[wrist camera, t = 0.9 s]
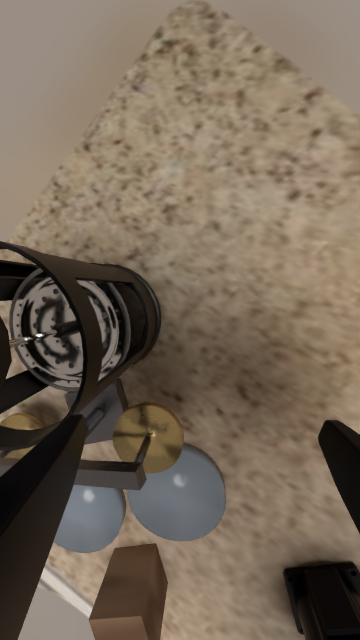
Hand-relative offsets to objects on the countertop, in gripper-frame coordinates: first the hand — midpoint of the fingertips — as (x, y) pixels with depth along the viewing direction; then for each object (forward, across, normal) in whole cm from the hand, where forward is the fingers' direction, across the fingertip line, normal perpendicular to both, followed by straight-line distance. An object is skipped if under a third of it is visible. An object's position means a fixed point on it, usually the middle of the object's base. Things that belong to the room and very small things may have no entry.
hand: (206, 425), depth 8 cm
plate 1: (+9, +9, +21) cm, 24 cm away
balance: (+12, +7, +11) cm, 17 cm away
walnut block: (+6, +3, +26) cm, 27 cm away
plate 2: (+8, 0, +17) cm, 19 cm away
